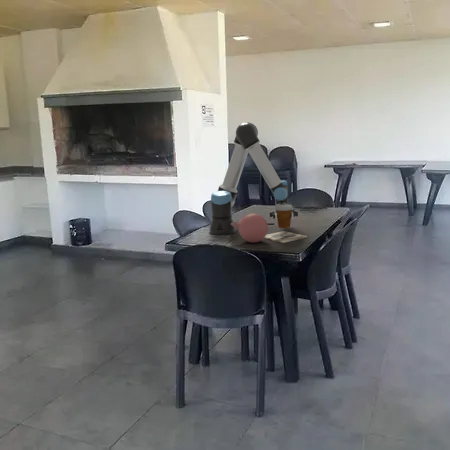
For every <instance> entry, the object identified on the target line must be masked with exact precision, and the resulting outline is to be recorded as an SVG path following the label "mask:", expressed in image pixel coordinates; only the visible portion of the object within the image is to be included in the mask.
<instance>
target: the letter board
mask: <svg viewBox="0 0 450 450" xmlns="http://www.w3.org/2000/svg"><path fill="white" fill-rule="evenodd" d="M307 238H308V235H303V234H300V233H299V234H298V233H294V232H290V231H286V230H284V231H283V230H282V231H278V232H272V233H267V234H266V236H265V237H264V238H263V239H264V240H269V241H273V242H277V243H281V244H284V243H289V242H292V241H293V242H294V241H297V240H301V239H302V240H303V239H307Z"/></svg>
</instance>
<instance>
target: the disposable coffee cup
mask: <svg viewBox="0 0 450 450" xmlns="http://www.w3.org/2000/svg"><path fill="white" fill-rule="evenodd" d="M274 209H275V211H276V213H277V225H278V228H279V229H289V228H291V222H292V221H291V220H292V218H291V213H292V210H293V209H294V208H293V205H292V204H289V203H288V204H280V205H276V208H275V207H274Z"/></svg>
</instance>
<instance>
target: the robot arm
mask: <svg viewBox="0 0 450 450" xmlns="http://www.w3.org/2000/svg"><path fill="white" fill-rule="evenodd" d="M258 131H259V130H258V128H257V126H256V125H255V124H254V123H252V122H249V121H248V122H243V123H240V124H239V125H238V126H237V128H236V130H235V138H234V140H233V144H234V148H233V151H232V154H231V158H230V161H229V163H228V167H227V169H226V172H225V175H224V177H223V182H222V183H221V184H220V185H219V186H218V189H217V191H214V192H212V193H211V196H210V201H211V202H210V205H211V222H210V225H209V230H208V231H209V233H210V234H212V235H217V236H218V235H219V236H221V235H222V236H223V235H224V236H225V235H231V234H235V233H236V228H234V227H233V226H232V225H231V223H234V221H233V213H232V212H233V211H232V208H233V206H234V205H235V203H236V198H237V195H238V190H237V187H238V184H239V181H240V178H241V175H242V173H243V170H244V167H245V163H246V160H247V157H248V156H250V157H251V159H252V161H253V162H254V164H255V166H256V167H257V168H258V169H257V170H258V171H259V172H260V174H261V176H262V178H263V179H264V181H265V182H266V184H267V186H268V187H269V189H270V191H271V193H272V194H273V197H274V200H275V202H274V203H275V204H274V206H275V207H274V209H275V208H276V205H280V204H289V198H288V197H289V195H288V194H289V193H288V191H289V190H288V187H289V186H288V181H287V180H286V179H285V180H284V179H283V180H281V179H280V177H279V174H278V173H277V172H276V170H275V168H274V167H273V165H272V163H271V162H270V161H271V160H269V158H268V156H267V155H266V153H265V152H264V149H263V148H262V146H261V144H260V143H261V141H260V139H259V138H258V135H259V132H258ZM248 154H249V155H248ZM274 209H270V212H269V218H272V219H275V220H277V213H276V210H274ZM297 217H299V212H298V211H297V210H296V209H295V208H292V213H291V220H294V218H297ZM277 221H278V220H277Z"/></svg>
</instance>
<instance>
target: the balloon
mask: <svg viewBox="0 0 450 450" xmlns="http://www.w3.org/2000/svg"><path fill="white" fill-rule="evenodd" d="M231 225H232V226H233V227H234V228H235V229H237V230H238V233H239V235H240V237H241V238H242V239H243V240H244V241H246V242H248V243H253V244H254V243H259V242H261V241H262V240H264V239H265V238H264V237H265V236H266V235H268V229H269V226H268V223H267V220H266V219H265V218H264V217H263V216H262V215H260V214H258V213H253V212H252V213H249V214H246V215H244V216H243V217H242V218H241V219H240V220H237V221H233V223H231Z"/></svg>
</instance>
